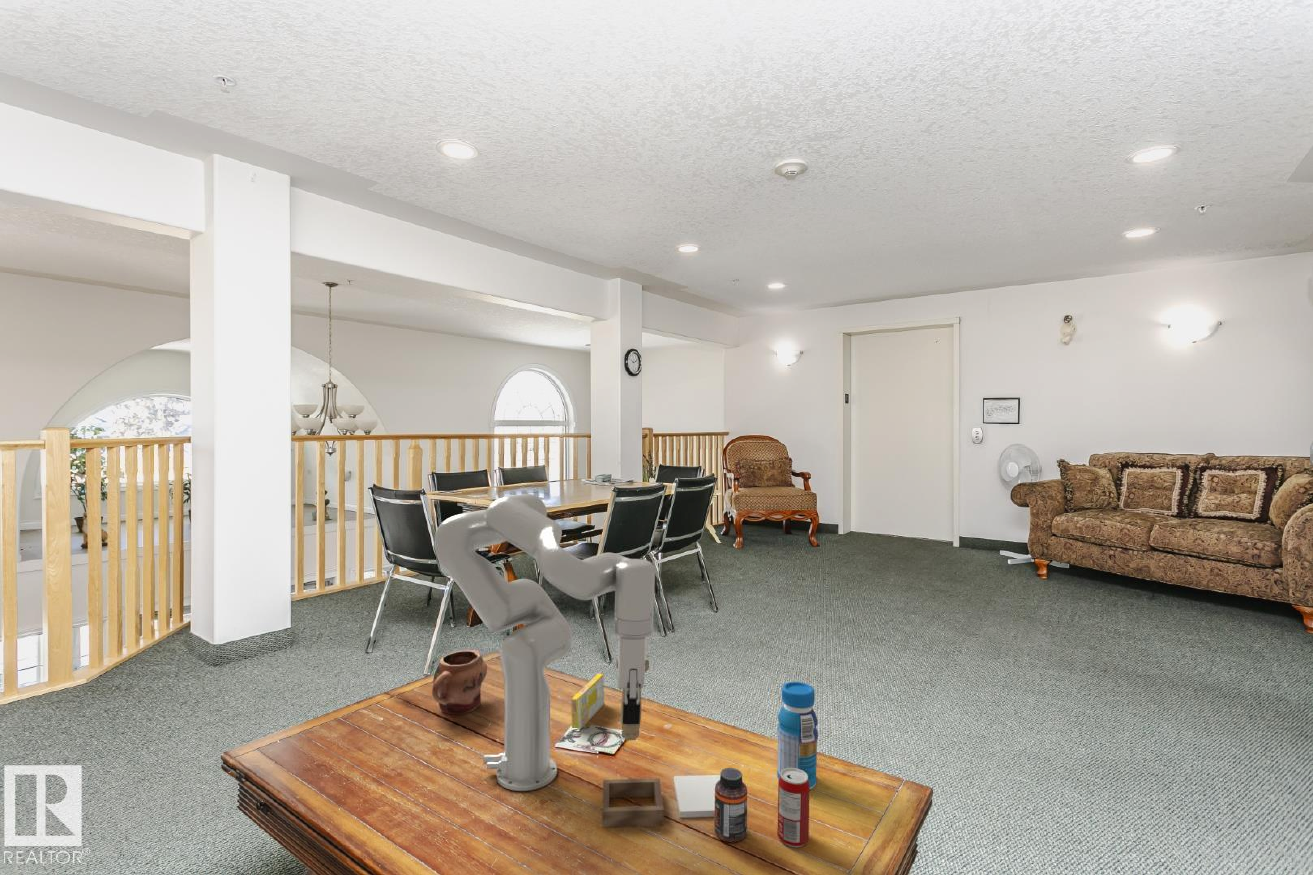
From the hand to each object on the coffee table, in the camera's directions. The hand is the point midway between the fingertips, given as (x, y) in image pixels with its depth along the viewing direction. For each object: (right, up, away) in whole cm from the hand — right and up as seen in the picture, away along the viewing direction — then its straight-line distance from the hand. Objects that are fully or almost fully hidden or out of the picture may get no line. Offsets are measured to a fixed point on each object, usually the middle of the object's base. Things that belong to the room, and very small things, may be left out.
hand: (630, 716), depth 122 cm
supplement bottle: (+19, -19, -7) cm, 27 cm away
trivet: (+15, -18, +4) cm, 24 cm away
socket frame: (0, -18, 0) cm, 18 cm away
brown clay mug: (-47, -17, +41) cm, 64 cm away
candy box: (-12, -17, +38) cm, 44 cm away
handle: (0, -4, 0) cm, 4 cm away
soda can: (+30, -19, -8) cm, 36 cm away
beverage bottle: (+35, -19, +11) cm, 41 cm away
